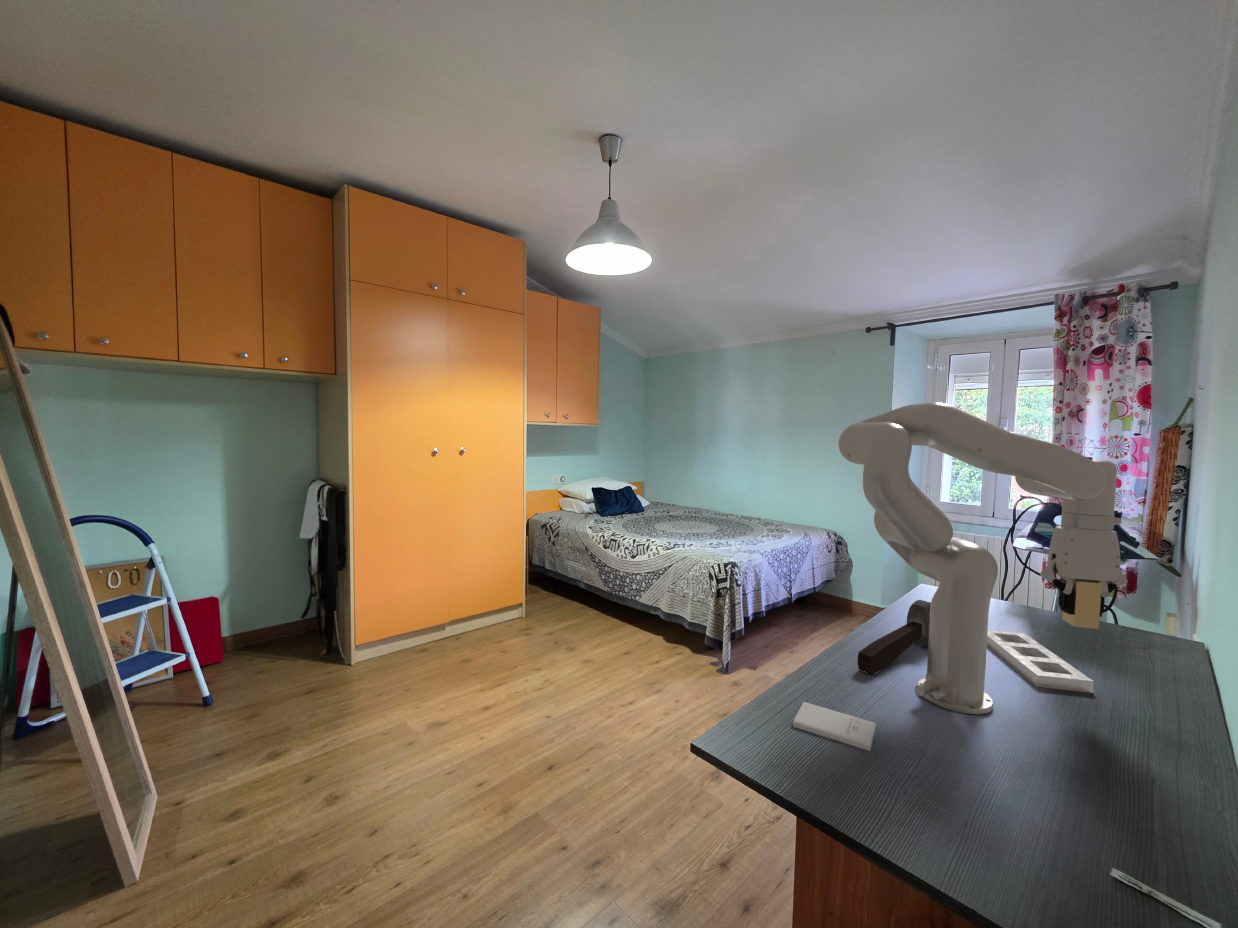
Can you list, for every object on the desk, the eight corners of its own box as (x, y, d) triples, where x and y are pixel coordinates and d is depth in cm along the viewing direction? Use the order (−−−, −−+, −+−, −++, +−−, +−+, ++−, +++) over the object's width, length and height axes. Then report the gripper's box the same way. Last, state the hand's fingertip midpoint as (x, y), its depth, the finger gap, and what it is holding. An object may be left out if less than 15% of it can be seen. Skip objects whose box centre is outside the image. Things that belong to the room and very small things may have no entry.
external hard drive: (803, 708, 96) (876, 730, 90) (792, 729, 90) (870, 754, 83) (803, 700, 96) (876, 721, 90) (792, 720, 89) (870, 744, 83)
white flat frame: (1093, 692, 103) (1094, 681, 103) (1036, 686, 105) (1037, 674, 105) (1023, 642, 128) (1023, 632, 128) (978, 638, 131) (979, 628, 130)
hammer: (875, 693, 109) (938, 644, 126) (874, 644, 107) (938, 601, 124) (854, 684, 113) (918, 638, 129) (852, 637, 111) (917, 596, 128)
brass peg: (1098, 628, 98) (1101, 583, 97) (1074, 626, 99) (1076, 581, 99) (1085, 621, 102) (1088, 577, 101) (1062, 619, 103) (1064, 576, 102)
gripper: (1125, 521, 101) (1118, 611, 102) (1026, 517, 105) (1021, 603, 106) (1153, 528, 93) (1146, 624, 95) (1046, 523, 98) (1041, 615, 99)
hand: (1080, 612), depth 100 cm, fingers closed on brass peg, 4 cm apart
